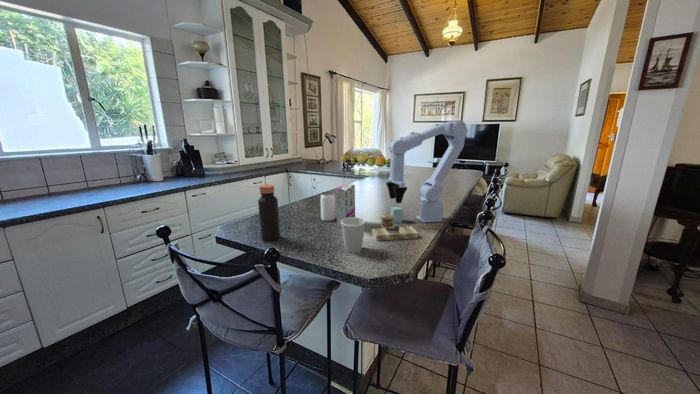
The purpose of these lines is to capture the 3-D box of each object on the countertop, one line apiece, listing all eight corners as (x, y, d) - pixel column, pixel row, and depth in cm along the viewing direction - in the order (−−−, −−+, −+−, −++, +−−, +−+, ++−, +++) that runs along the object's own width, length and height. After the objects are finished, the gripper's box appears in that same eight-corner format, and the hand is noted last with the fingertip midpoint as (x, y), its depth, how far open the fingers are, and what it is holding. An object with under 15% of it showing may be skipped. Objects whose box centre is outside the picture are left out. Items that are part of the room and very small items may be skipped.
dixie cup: (356, 242, 99) (356, 215, 97) (370, 250, 92) (370, 222, 90) (336, 247, 95) (336, 219, 92) (349, 256, 88) (349, 227, 86)
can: (333, 221, 121) (332, 195, 118) (319, 220, 122) (318, 194, 119) (336, 217, 127) (336, 192, 124) (323, 216, 128) (322, 191, 125)
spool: (392, 224, 117) (392, 213, 116) (396, 229, 112) (397, 217, 110) (378, 225, 116) (378, 213, 115) (382, 230, 111) (382, 218, 109)
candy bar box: (344, 219, 124) (344, 183, 120) (355, 220, 122) (355, 184, 118) (335, 227, 113) (335, 189, 109) (347, 229, 112) (346, 190, 108)
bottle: (257, 240, 101) (252, 187, 96) (269, 233, 107) (265, 183, 102) (272, 243, 99) (268, 188, 94) (283, 236, 105) (280, 185, 100)
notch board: (411, 231, 109) (411, 226, 109) (417, 237, 103) (418, 232, 102) (371, 233, 107) (372, 228, 107) (376, 240, 100) (376, 235, 100)
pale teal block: (398, 219, 124) (399, 206, 122) (401, 222, 120) (402, 209, 118) (390, 219, 123) (390, 207, 122) (393, 222, 119) (393, 209, 118)
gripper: (382, 167, 121) (381, 196, 125) (393, 172, 108) (392, 205, 111) (397, 166, 123) (396, 196, 126) (410, 171, 109) (408, 204, 112)
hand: (395, 200), depth 119 cm, fingers open, 7 cm apart
